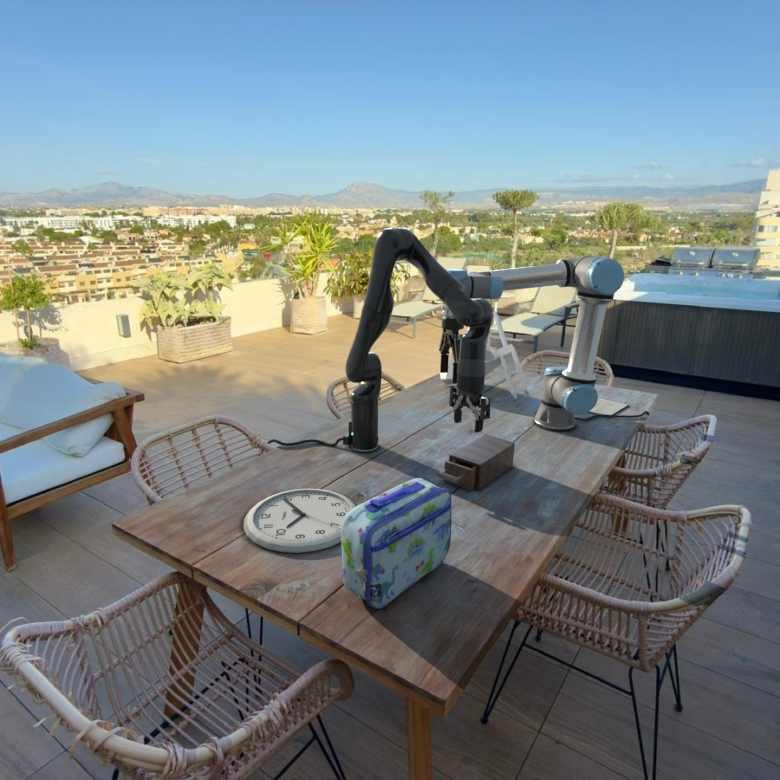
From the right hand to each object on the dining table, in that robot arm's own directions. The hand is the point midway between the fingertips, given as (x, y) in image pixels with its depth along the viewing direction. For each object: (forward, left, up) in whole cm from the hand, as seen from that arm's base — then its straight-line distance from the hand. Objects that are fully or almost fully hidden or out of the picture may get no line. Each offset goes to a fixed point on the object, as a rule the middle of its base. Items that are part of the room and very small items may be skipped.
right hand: (449, 377), depth 181 cm
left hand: (-6, +35, -4) cm, 35 cm away
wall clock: (+36, +59, -23) cm, 73 cm away
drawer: (-8, +30, -22) cm, 38 cm away
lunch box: (+9, +80, -23) cm, 84 cm away
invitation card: (-66, -48, -23) cm, 85 cm away
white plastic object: (-14, -60, -23) cm, 66 cm away
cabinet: (-11, +24, -23) cm, 36 cm away
